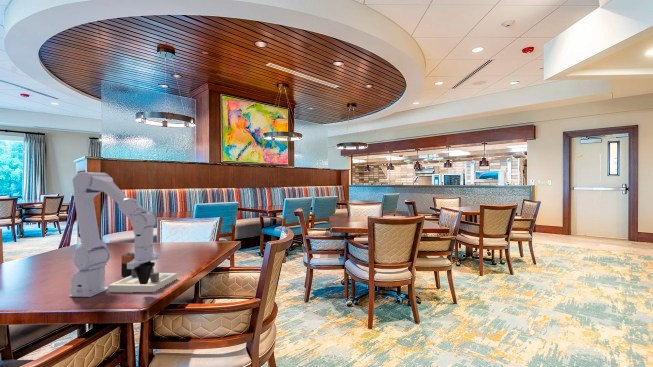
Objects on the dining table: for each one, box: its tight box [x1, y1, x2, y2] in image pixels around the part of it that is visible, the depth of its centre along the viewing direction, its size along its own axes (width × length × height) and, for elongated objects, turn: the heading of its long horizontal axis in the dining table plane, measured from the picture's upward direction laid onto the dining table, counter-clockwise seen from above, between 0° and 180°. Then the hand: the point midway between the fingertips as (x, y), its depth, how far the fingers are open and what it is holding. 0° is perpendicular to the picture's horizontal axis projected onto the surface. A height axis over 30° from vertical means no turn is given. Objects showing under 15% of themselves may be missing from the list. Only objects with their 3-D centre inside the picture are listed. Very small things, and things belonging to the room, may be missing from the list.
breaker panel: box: [107, 272, 178, 293], centre depth 117 cm, size 16×17×3 cm
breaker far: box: [131, 269, 137, 276], centre depth 121 cm, size 2×2×3 cm
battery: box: [120, 251, 135, 278], centre depth 130 cm, size 4×7×10 cm, turn 63°
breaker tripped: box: [151, 272, 160, 282], centre depth 114 cm, size 2×2×3 cm
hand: (143, 283), depth 107 cm, fingers closed
